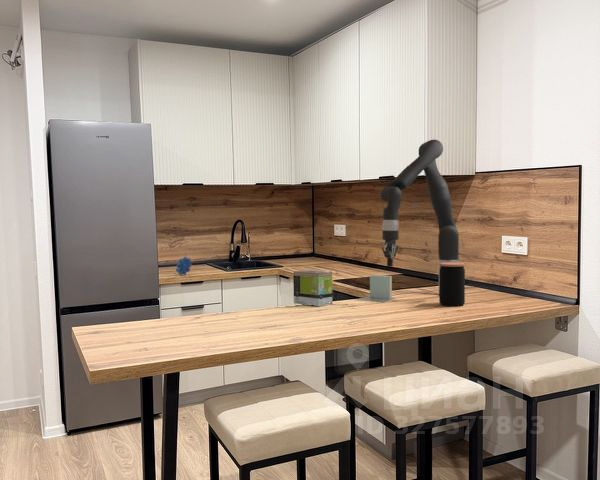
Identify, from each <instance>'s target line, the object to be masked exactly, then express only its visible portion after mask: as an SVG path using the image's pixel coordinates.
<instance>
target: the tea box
mask: <svg viewBox="0 0 600 480" xmlns="http://www.w3.org/2000/svg"><path fill="white" fill-rule="evenodd" d="M292 275H293V276H292V277H293V281H292V282H293V283H292V284H293V304H296V305H304V306H309V305H308V304H311V305H314V306H313V307H318V306H319V307H324V306H323V305H325V306H328V305H327V304H331V303H332V304H333V271H329V270H328V271H326V270H315V269H312V270H310V269H304V270H296V271H293V274H292ZM329 302H330V303H329ZM332 304H331V305H332ZM311 305H310V306H311Z"/></svg>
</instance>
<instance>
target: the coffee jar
mask: <svg viewBox="0 0 600 480" xmlns="http://www.w3.org/2000/svg"><path fill="white" fill-rule="evenodd" d="M440 266H441V268H440V270H439V269H438V295H439V301H438V302H439V304H440V305H441V306H444V307H452V308H453V307H454V308H456V307H463V306H464V305H465V302H466V301H465V300H466V299H465V298H466V297H465V296H466V294H465V293H466V287H465V286H466V283H465V282H466V280H465V279H466V272H465V271H466V269H465V266H466V264H465V263H464V262H458V263H456V262H445V263H440Z"/></svg>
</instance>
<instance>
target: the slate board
mask: <svg viewBox="0 0 600 480" xmlns="http://www.w3.org/2000/svg"><path fill="white" fill-rule="evenodd" d="M396 299H397V298H396V297H392V298H391V299H387V298H375V297H370V295H368V296H364V297H361V298H357V299H355V301H361V302H372V303H373V302H374V303H386V302H390V301H392V300H396Z"/></svg>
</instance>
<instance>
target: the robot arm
mask: <svg viewBox="0 0 600 480" xmlns="http://www.w3.org/2000/svg"><path fill="white" fill-rule="evenodd" d="M443 152H444V146H443V143H442V142H441V141H440V140H438V139H431V140H428V141H426V142H424V143H422V144H420V146H419V147H418V157H417V158H415V160H413V161H411V163H410V164H408V165H407V166H406V167H405V168H404V169H403V170H402V171H401V172H400V173H399V174H398V175H397V176H396V178H395V179H393V180H392V181H390V182H389V183H388V184H386V185H385V186H384V187H383V188H382V189H381V191H380V198H381V200H382V201H383V202H385V203H387V206H386V207H384V208H383V213H382V217H383V218H382V231H381V233H382V237H381V238H382V240H384V246H382V247H381V250H382V252H383V255H384V257H385V258H386V261H387V262H386V263H387V264H386V266H387V267H388V268H389V267H393V266H394V258H395V257H396V255H397V253H398V249H399V246H398V245H397V242H396V241H397V240H399V228H400V224H399V209H400V207H401V203H402V198H403V197H402V191H403V190H406V189H408V188H409V186H410V185H411V184H412V183H413V182H414V180H416V179H417V177H419V175H420V174H421V173H422V172H423V171H424V176H425V180H426V184H427V190H428V194H429V198H430V202H431V205H432V207H433V210H434V213H435V215H436V218H437V224H438V242H437V243H438V271H439V270H440V268H441V266H440V263H445V262H456V263H460V262H459V254H460V253H459V238H460V237H459V235H460V234H459V231H458V229H457V227H456V223H455V220H454V218H453V217H454V216H453V212H452V211H453V210H452V202H451V195H450V191H449V186H448V184H447V181H446V180H445V178H444V177H443V176H442V174H441V173H440V171H439V168H438V165H437V160H436V159H438V158H439V157H440V156H442V154H443Z"/></svg>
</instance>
